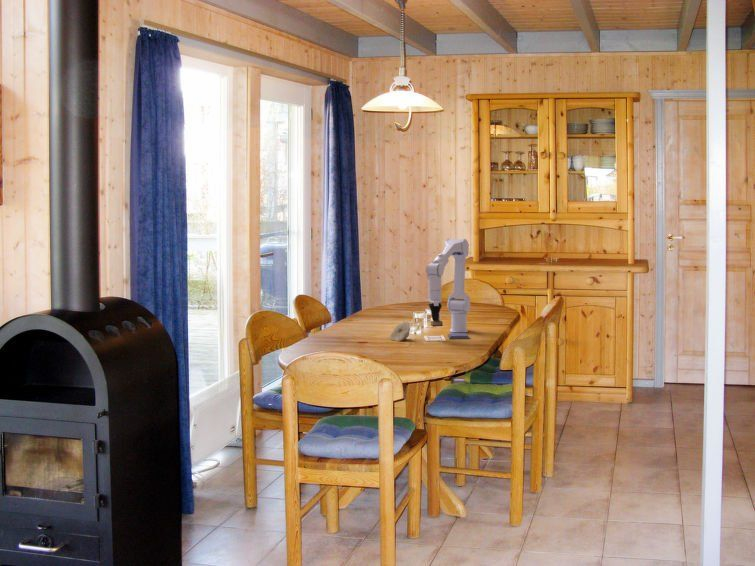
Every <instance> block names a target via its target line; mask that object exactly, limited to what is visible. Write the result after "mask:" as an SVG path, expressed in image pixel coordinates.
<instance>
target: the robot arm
mask: <svg viewBox="0 0 755 566" xmlns="http://www.w3.org/2000/svg"><path fill="white" fill-rule="evenodd" d="M469 246H470V244H469V241H468V240H467V239H466V238H447V239H446V240H445V242H444V249H443V251H442V252H441V253H438V254H437V256H436V257H435V258H434V260H433V261H432V262H430V263H429V262H428V263H429V264H427V265H426V269H425V272H426V278H427V280H428V299H425V302H429V303H428V306H429V310H430V314H431V318H432V319H431V320H432V321H438V317H439V318H440V311H441V309H442V303H441V302H443V300H442V277H443V275H444V271H445V267H446V266H447V264H448V263H449V258H450V257H453V258H454V270H453V275H454V278H453V292H451V294H449V295H448V298H447V299H448V300H447V304H446V306H447V310H448V311H449V313H450V314H451V317H450V318H451V322H450V323H451V328H449V331H450V333H469V331H468V328H467V327H468V326H467V324H468V323H467V314H468V313H469V312H470V310H471V301H470V300H471V299H470V297H471V296H469V294H467V293H466V292H465V280H466V258H467V257H469V250H470V247H469Z"/></svg>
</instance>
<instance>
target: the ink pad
mask: <svg viewBox="0 0 755 566" xmlns="http://www.w3.org/2000/svg"><path fill="white" fill-rule="evenodd" d="M447 338H448V339H449V340H469V339H470V336H469V335H468V333H467V332H449V333H448V334H447Z"/></svg>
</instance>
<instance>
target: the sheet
mask: <svg viewBox="0 0 755 566" xmlns="http://www.w3.org/2000/svg"><path fill="white" fill-rule="evenodd" d="M423 337H424V341H425V342H446V341H447V340H446V338H445V337H444V335H442V334H441V335H438V334H437V335H435V334H434V335H423Z"/></svg>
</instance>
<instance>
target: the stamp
mask: <svg viewBox="0 0 755 566" xmlns="http://www.w3.org/2000/svg"><path fill="white" fill-rule="evenodd" d="M430 326H431V327H432V328H433V327H437V328H438V327H443V321H442V320H440V316H439V317H438V321H433V320H431V321H430Z"/></svg>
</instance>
